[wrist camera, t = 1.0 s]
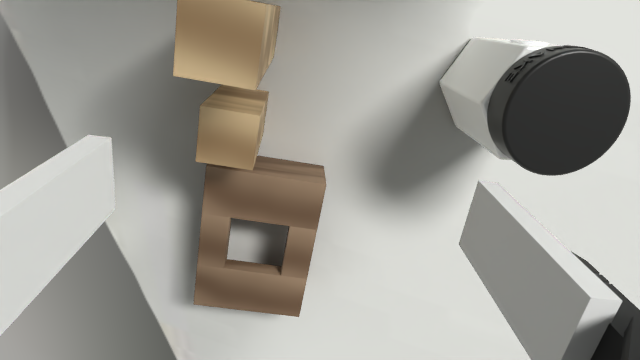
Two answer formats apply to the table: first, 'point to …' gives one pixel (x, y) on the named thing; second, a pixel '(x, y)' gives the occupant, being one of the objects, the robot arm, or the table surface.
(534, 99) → the jar
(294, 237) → the bridge
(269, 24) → the peg long
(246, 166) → the peg mid
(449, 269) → the table surface
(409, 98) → the table surface
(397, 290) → the table surface
